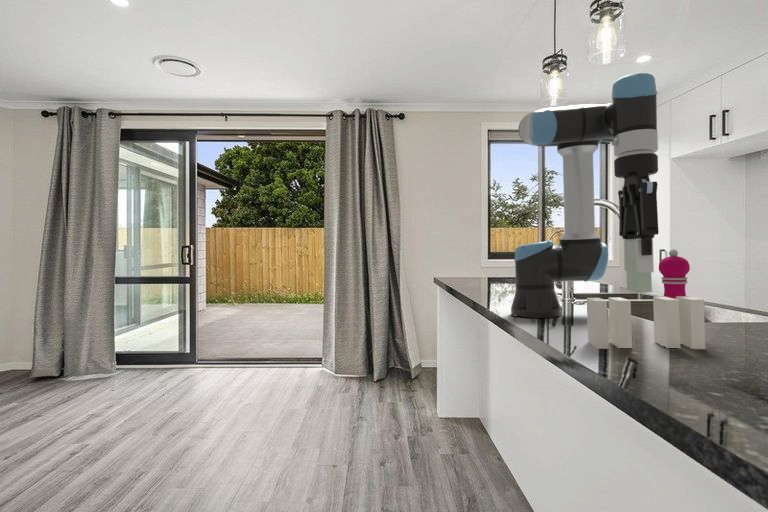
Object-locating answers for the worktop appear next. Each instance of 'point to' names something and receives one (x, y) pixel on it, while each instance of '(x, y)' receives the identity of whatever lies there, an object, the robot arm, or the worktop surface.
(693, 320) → the tile
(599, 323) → the tile
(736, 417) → the worktop surface
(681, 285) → the pepper mill
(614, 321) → the tile
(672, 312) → the tile
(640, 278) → the tile
